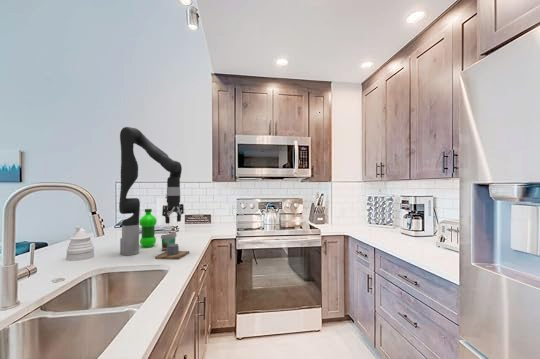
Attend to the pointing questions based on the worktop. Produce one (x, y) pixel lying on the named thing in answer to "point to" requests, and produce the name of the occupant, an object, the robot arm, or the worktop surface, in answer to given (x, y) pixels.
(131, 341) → the worktop surface
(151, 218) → the plastic bottle
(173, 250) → the cap
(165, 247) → the food container
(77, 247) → the honey pot
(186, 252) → the stub board
